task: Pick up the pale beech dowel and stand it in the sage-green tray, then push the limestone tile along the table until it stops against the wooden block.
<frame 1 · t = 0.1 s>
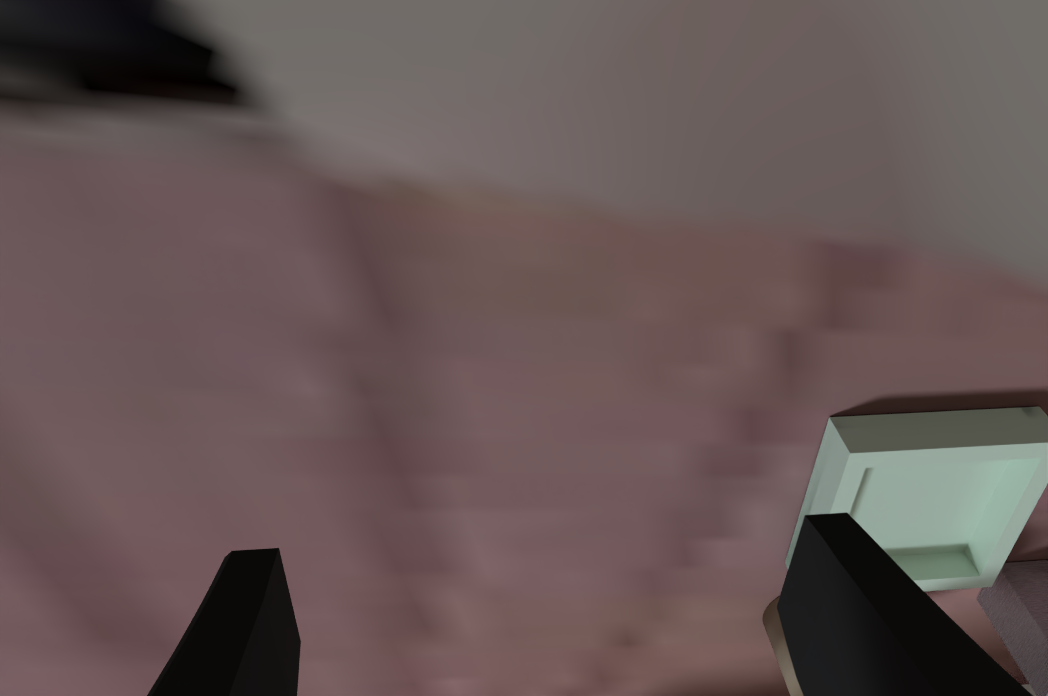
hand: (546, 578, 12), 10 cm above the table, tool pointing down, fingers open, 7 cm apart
dowel: (801, 611, 30), on the table
tray: (904, 489, 27), on the table
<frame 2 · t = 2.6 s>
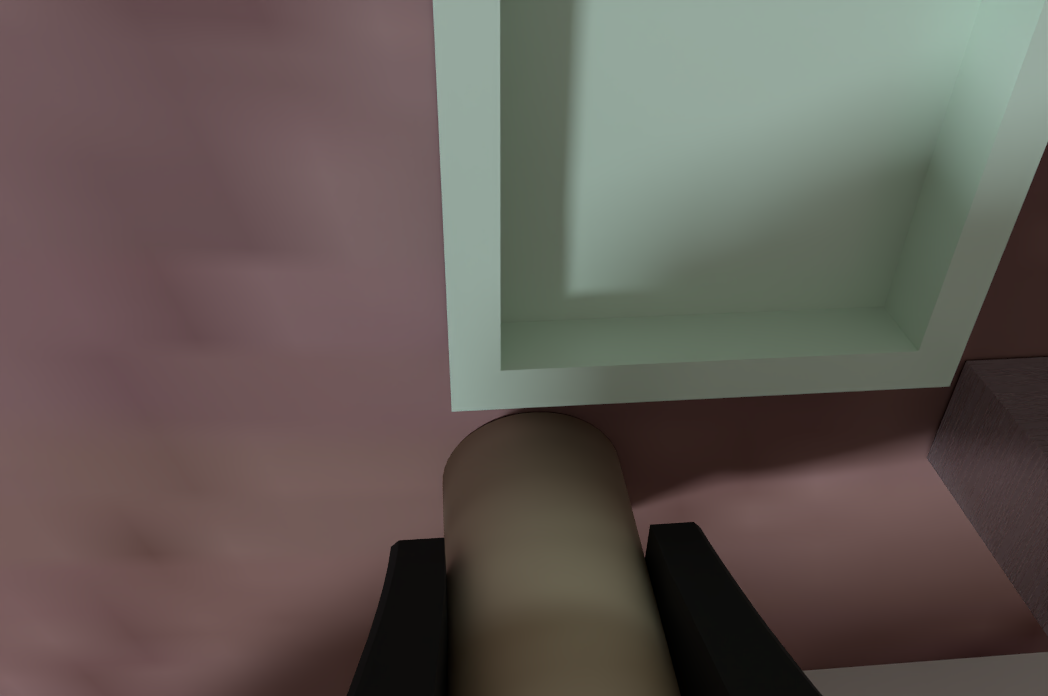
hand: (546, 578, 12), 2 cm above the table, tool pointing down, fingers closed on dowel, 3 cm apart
dowel: (531, 479, 13), on the table, touching gripper
tray: (711, 107, 10), on the table
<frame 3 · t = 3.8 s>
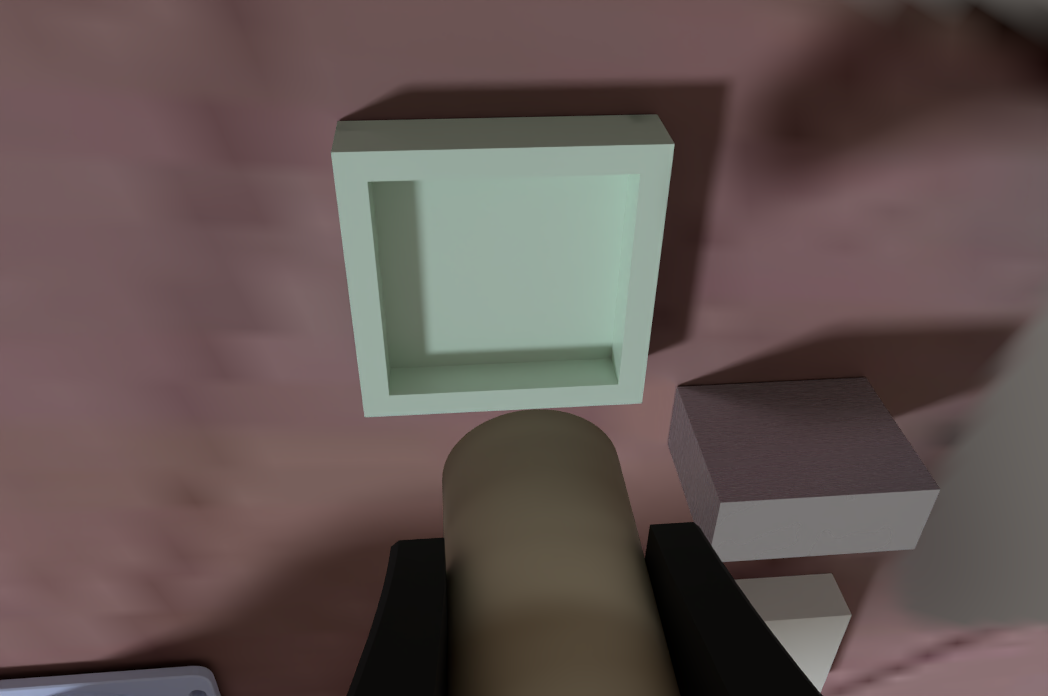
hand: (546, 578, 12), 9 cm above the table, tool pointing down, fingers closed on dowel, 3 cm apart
tile: (706, 626, 29), on the table
dowel: (531, 476, 13), point 7 cm above the table, touching gripper
tray: (500, 256, 19), on the table
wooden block: (765, 411, 23), on the table
when the fingers open (3 cm above the table, at t = 5.0 s): dowel stays where it is, resting on tray.
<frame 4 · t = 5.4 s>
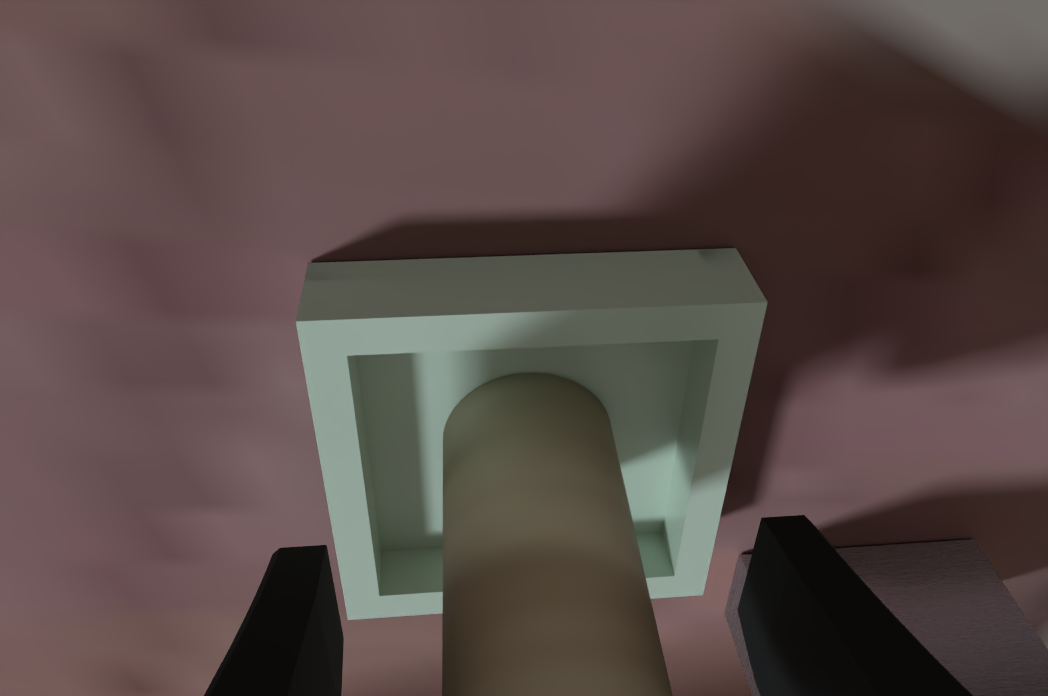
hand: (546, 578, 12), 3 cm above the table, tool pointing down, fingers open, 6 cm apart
dowel: (527, 438, 14), point 1 cm above the table, touching tray
tray: (523, 417, 15), on the table
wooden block: (846, 578, 18), on the table
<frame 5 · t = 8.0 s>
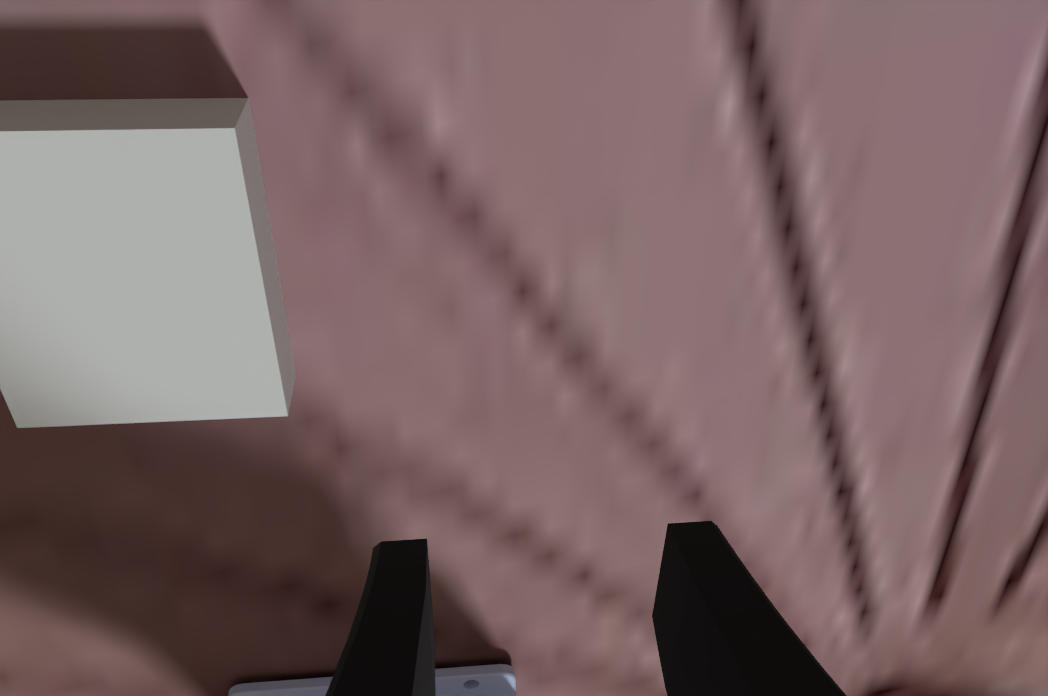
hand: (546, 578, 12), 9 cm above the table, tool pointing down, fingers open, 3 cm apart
tile: (140, 245, 19), on the table
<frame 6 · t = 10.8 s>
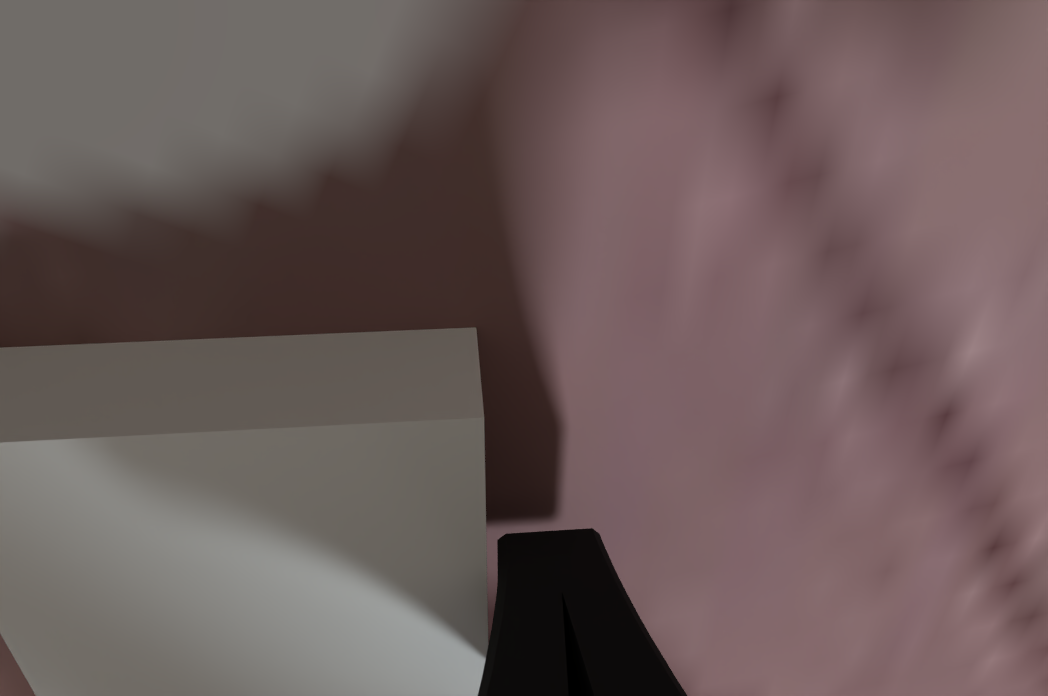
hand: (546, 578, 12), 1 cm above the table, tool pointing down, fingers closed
tile: (276, 518, 13), on the table, touching gripper
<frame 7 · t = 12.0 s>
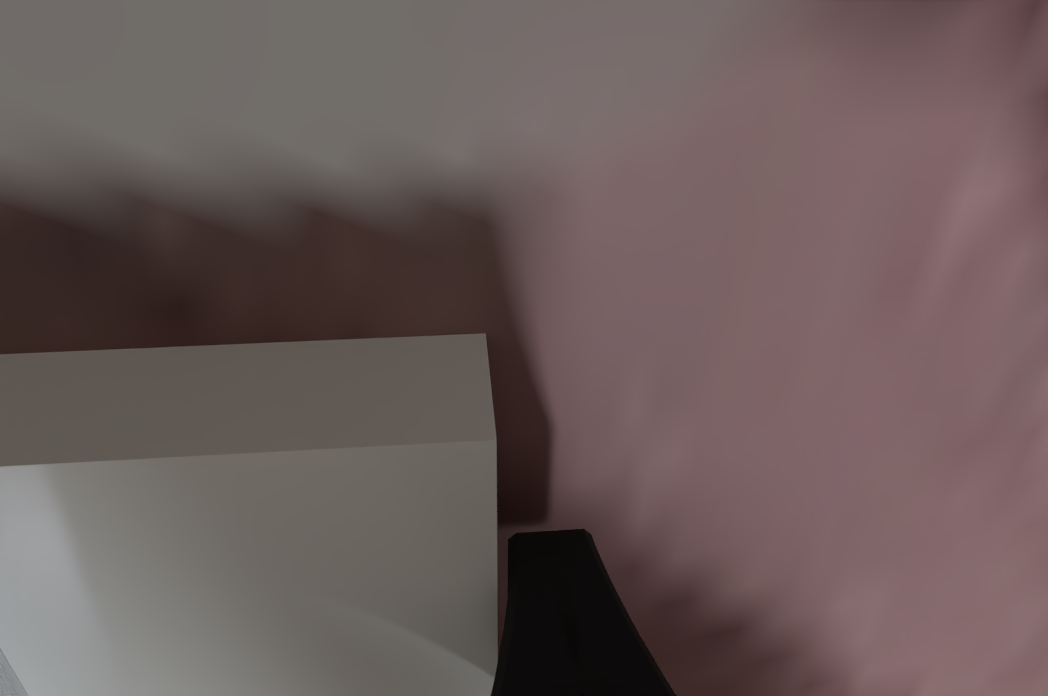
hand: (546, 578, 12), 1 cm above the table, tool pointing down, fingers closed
tile: (282, 535, 12), on the table, touching gripper
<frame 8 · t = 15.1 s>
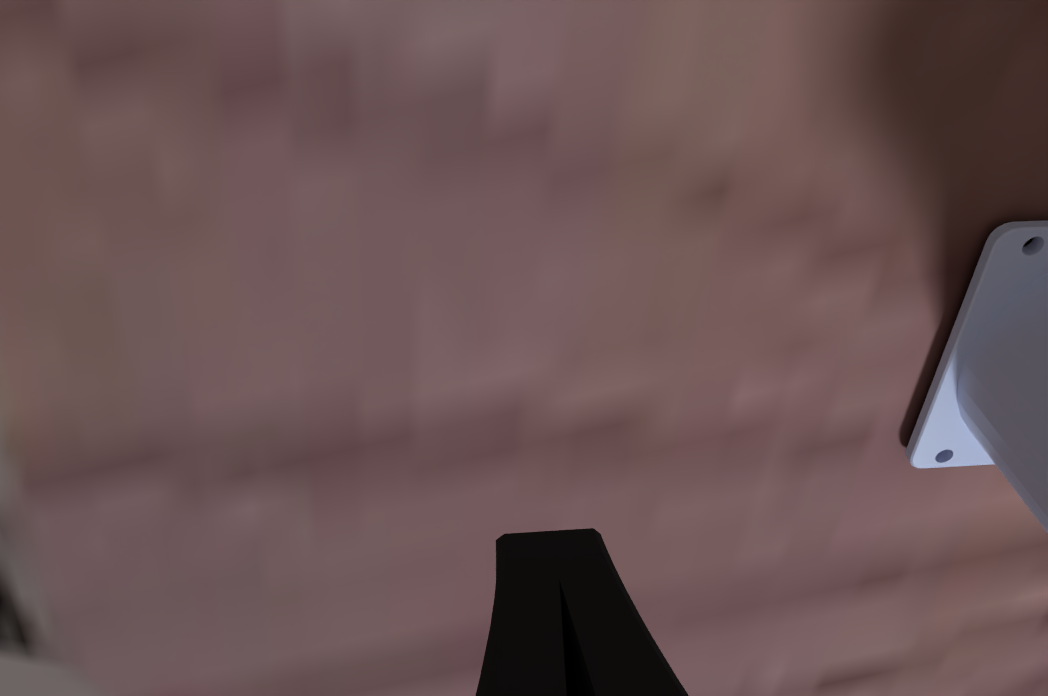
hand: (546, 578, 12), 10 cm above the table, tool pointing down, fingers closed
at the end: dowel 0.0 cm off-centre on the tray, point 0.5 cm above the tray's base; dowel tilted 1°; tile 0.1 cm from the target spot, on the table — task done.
